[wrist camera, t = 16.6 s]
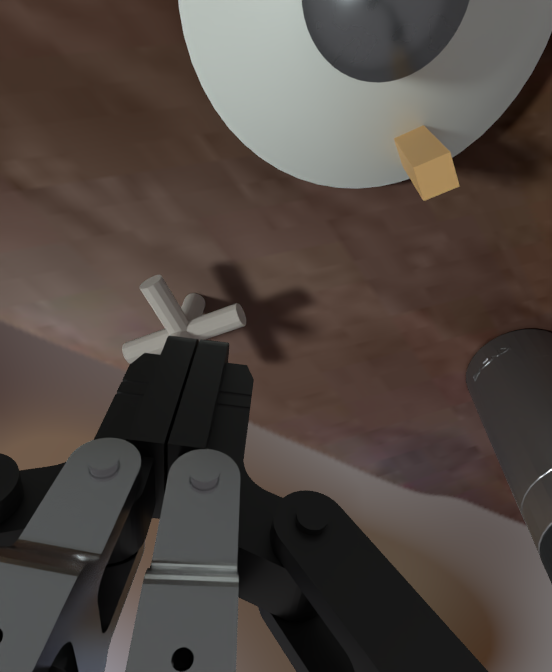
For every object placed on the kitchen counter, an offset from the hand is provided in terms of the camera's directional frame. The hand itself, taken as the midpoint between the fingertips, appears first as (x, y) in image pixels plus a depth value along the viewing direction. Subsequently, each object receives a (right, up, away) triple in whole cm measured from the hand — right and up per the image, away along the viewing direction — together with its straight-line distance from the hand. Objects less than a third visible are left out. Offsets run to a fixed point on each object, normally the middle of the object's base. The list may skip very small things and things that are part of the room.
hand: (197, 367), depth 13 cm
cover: (+7, +21, +16) cm, 27 cm away
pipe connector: (-5, +4, +31) cm, 31 cm away
